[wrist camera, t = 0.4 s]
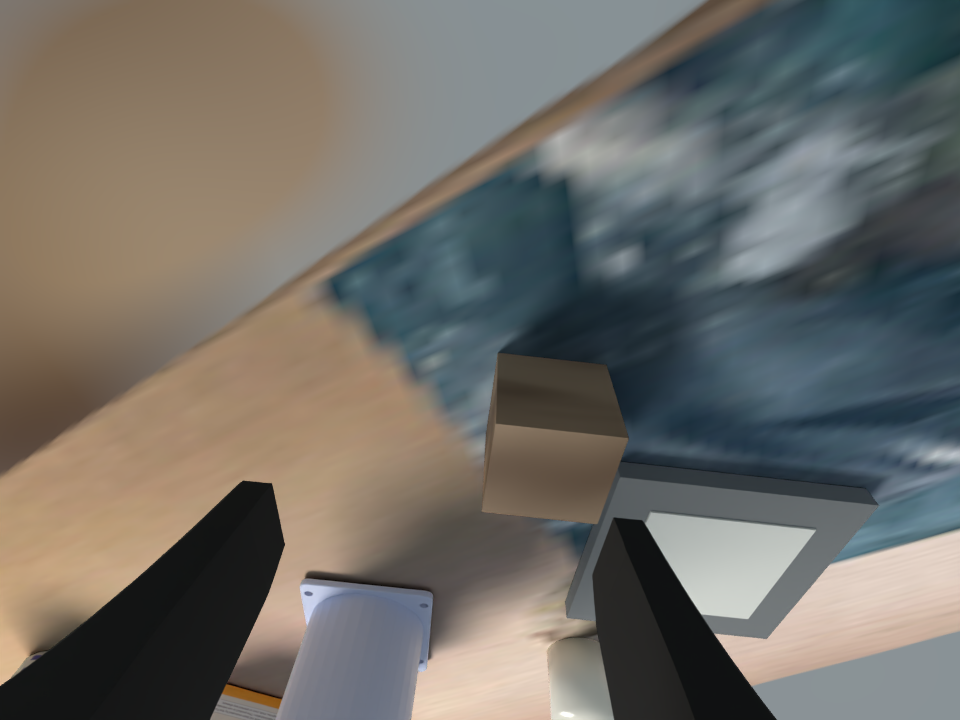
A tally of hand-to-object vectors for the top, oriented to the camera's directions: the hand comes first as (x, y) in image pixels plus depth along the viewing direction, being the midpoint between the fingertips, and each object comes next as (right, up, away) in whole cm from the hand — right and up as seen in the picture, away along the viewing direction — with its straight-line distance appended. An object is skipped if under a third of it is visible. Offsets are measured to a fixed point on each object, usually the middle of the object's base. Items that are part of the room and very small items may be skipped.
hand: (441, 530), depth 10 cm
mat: (+13, -7, +16) cm, 21 cm away
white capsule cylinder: (+7, -16, +22) cm, 29 cm away
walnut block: (+4, +2, +11) cm, 12 cm away
